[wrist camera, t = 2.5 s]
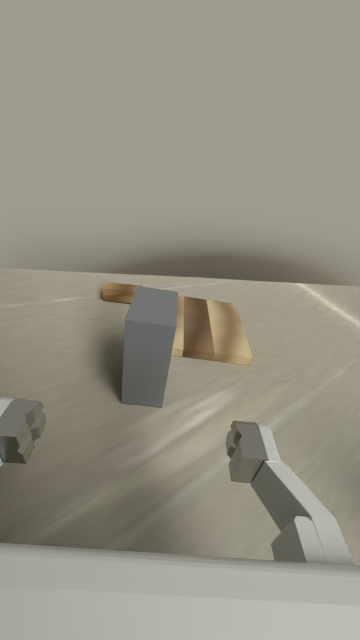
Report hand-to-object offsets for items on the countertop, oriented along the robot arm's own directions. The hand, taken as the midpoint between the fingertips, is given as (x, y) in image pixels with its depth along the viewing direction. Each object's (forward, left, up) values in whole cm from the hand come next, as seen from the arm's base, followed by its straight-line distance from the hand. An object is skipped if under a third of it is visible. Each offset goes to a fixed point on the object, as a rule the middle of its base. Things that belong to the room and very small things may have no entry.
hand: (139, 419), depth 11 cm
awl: (-4, +29, -11) cm, 32 cm away
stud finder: (0, +12, -11) cm, 17 cm away
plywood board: (+6, +24, -11) cm, 27 cm away
